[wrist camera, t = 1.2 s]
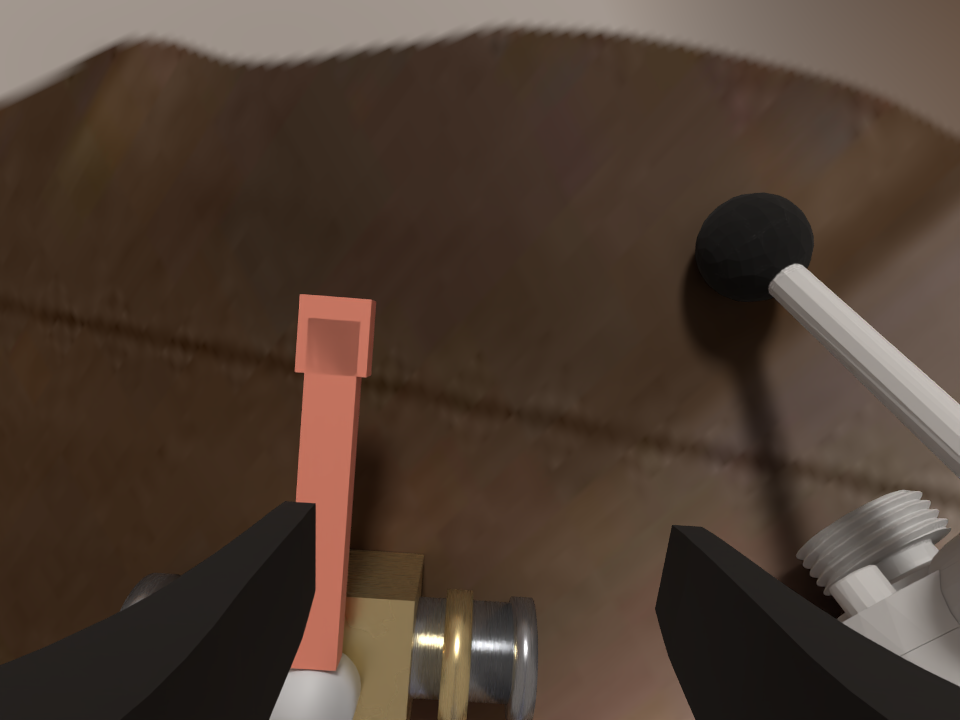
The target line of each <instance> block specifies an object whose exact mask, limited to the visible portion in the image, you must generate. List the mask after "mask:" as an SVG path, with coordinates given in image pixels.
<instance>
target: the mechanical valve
mask: <svg viewBox="0 0 960 720" xmlns="http://www.w3.org/2000/svg"><path fill="white" fill-rule="evenodd" d="M813 247H814V237H813V233H812V229H811V226H810V224H809V222H808V220H807V218H806V216H805V215H804V213H803V212H802V211H801V210H800V209H799V208H798V207H797V206H796V205H794V204H793V203H792V202H790V201H789V200H788V199H786V198H783V197H781V196H779V195H774V194H769V193H754V194H744V195H740V196H737V197H733V198H732V199H730V200H728V201H727V202H725V203H723V204H721V205H720V206H718V207H717V208H716V209H715V210H714V211H713V212H712V213H711V214H710V215H709V216H708V218H707V219H706V220H705V221H704V223H703V225H702V228H701V230H700V232H699V234H698V237H697V241H696V249H695V257H696V262H697V265H698V269H699V271H700V273H701V275H702V277H703V278H704V280H705V281H706V283H707V284H708V285H710V286H711V287H712V288H713V289H714V290H715V291H717V292H718V293H719V294H721V295H723V296H726V297H728V298H731V299H733V300H736V301H743V302H753V301H761V300H767V299H770V298H775V299H776V300H777V301H778V302H779V303H780V304H781V305H782V306H783V307H784V308H785V309H786V310H787V311H788V312H789V313H790V314H791V315H792V316H793V317H794V318H795V319H796V320H797V321H798V322H800V323H801V324H802V325H803V326H804V327H805V328H806V329H807V330H808V331H809V332H810V333H811V334H812V335H813V336H814V337H815V338H816V339H817V340H818V341H819V342H820V343H821V344H822V345H823V346H824V347H825V348H826V349H827V350H828V351H829V352H830V353H831V354H832V355H833V356H834V357H835V358H836V359H837V360H838V361H840V362H841V363H842V364H843V365H844V366H845V367H846V368H847V369H848V370H849V371H850V372H851V373H852V374H853V375H854V376H855V377H856V378H857V379H858V380H859V381H860V382H861V383H862V384H863V385H864V386H865V387H866V388H867V389H868V390H869V391H870V392H871V393H872V394H873V395H874V396H875V397H876V398H877V399H878V400H880V401H881V402H882V403H883V404H884V405H885V406H886V407H887V408H888V409H889V410H890V411H891V412H892V413H893V414H894V415H895V416H896V417H897V418H898V419H899V420H900V421H901V422H902V423H903V424H904V425H905V426H906V427H907V428H908V429H909V430H910V431H911V432H912V433H913V434H914V435H915V436H916V437H917V438H918V439H920V440H921V441H922V442H923V443H924V444H925V445H926V446H927V447H928V448H929V449H930V450H931V451H932V452H933V453H934V454H935V455H936V456H937V457H938V458H939V459H940V460H941V461H942V462H943V463H944V464H945V465H946V466H947V467H948V468H949V469H950V470H951V471H952V472H953V473H954V474H955V475H956V476H957V477H958V478H960V404H958V403H957V402H956V401H955V400H954V399H953V398H952V397H951V396H949V395H948V394H947V393H946V392H945V391H944V390H943V389H941V388H940V387H939V386H938V385H937V384H936V383H935V382H934V381H932V380H931V379H930V378H929V377H928V376H927V375H926V374H925V373H923V372H922V371H921V370H920V369H919V368H918V367H917V366H916V365H914V364H913V363H912V362H911V361H910V360H909V359H908V358H907V357H905V356H904V355H903V354H902V353H901V352H900V351H899V350H897V349H896V348H895V347H894V346H893V345H892V344H891V343H890V342H888V341H887V340H886V339H885V338H884V337H883V336H882V335H881V334H879V333H878V332H877V331H876V330H875V329H874V328H873V327H872V326H870V325H869V324H868V323H867V322H866V321H865V320H864V319H863V318H861V317H860V316H859V315H858V314H857V313H856V312H855V311H853V310H852V309H851V308H850V307H849V306H848V305H847V304H846V303H844V302H843V301H842V300H841V299H840V298H839V297H838V296H837V295H835V294H834V293H833V292H832V291H831V290H830V289H829V288H828V287H826V286H825V285H824V284H823V283H822V282H821V281H820V280H818V279H817V278H816V277H815V276H814V275H813V274H812V273H811V272H809V271H808V270H807V268H808V266H809V263H810V260H811V256H812V252H813ZM921 497H922V492H920V491H909V490H900V491H896V492H893V493H890V494H887V495H884V496H882V497H880V498H878V499H876V500H874V501H871V502H869V503H867V504H865V505H863V506H861V507H859V508H858V509H856V510H854V511H852V512H850V513H848V514H847V515H845V516H843V517H841V518H840V519H838V520H837V521H835V522H834V523H832V524H831V525H829V526H828V527H826V528H825V529H823V530H821V531H820V532H819V533H817V534H816V535H815V536H814V537H812V538H811V539H810V540H809V541H807V542H806V543H805V544H804V545H803V547H802V548H801V549H800V550H799V551H798V552H797V555H796V557H797V558H798V559H800V560H804V562H803V566H804V568H807V569H811V570H810V576H811V577H815V578H818V580H817V585H818V586H822V587H825V589H824V592H823V593H824V594H825V595H827V596H833V597H834V598H835V599H836V601H837V602H838V603H839V605H840V606H841V607H842V609H843V610H844V611H845V613H844V614H842V615H841V616H840V617H838V618H837V620H839V621H840V622H842V623H843V624H845V625H846V626H848V627H850V628H851V629H853V630H855V631H856V632H858V633H860V634H861V635H863V636H865V637H867V638H868V639H870V640H872V641H874V642H876V643H877V644H879V645H881V646H883V647H884V648H886V649H888V650H890V651H892V652H893V653H895V654H897V655H899V656H900V657H902V658H904V659H906V660H908V661H910V662H912V663H914V664H916V665H917V666H919V667H921V668H923V669H925V670H927V671H929V672H931V673H933V674H935V675H937V676H939V677H941V678H943V679H946V680H948V681H950V682H952V683H954V684H956V685H958V686H960V534H958V535H957V536H956V537H954V538H953V539H952V540H951V541H949V542H948V543H947V544H946V545H945V546H944V547H943V548H941V549H940V550H938V549H937V548H936V547H935V546H934V545H935V544H936V543H937V542H939V541H940V540H941V539H942V538H944V537H945V536H946V535H947V534H948V533H949V532H950V530H951V528H945V527H946V525H947V523H948V519H945V518H937V516H938V514H939V510H937V509H929V507H930V504H931V502H930V501H929V500H920V498H921Z"/></svg>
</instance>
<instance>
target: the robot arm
mask: <svg viewBox="0 0 960 720" xmlns="http://www.w3.org/2000/svg"><path fill="white" fill-rule="evenodd" d="M315 591H316V503H304V502H287V501H285V502H283V503H282V504H281V505H279V506H278V507H276V508H275V509H274V510H272V511H271V512H270V513H268V514H267V515H266V516H265V517H263V518H262V519H261V520H259V521H258V522H257V523H255V524H254V525H253V526H252V527H250V528H249V529H248V530H246V531H245V532H244V533H242V534H241V535H239V536H238V537H237V538H235V539H234V540H233V541H231V542H230V543H229V544H227V545H226V546H225V547H223V548H222V549H220V550H219V551H218V552H216V553H215V554H213V555H212V556H210V557H209V558H207V559H206V560H204V561H203V562H201V563H200V564H198V565H197V566H195V567H194V568H192V569H191V570H189V571H188V572H186V573H185V574H183V575H182V576H180V577H179V578H177V579H176V580H174V581H173V582H171V583H169V584H168V585H166V586H165V587H163V588H161V589H160V590H158V591H156V592H154V593H153V594H151V595H149V596H148V597H146V598H144V599H142V600H140V601H139V602H137V603H135V604H133V605H131V606H129V607H128V608H126V609H124V610H122V611H120V612H118V613H116V614H115V615H113V616H111V617H109V618H107V619H105V620H103V621H100V622H98V623H96V624H94V625H92V626H90V627H88V628H85V629H83V630H81V631H79V632H77V633H75V634H73V635H70V636H68V637H66V638H64V639H62V640H60V641H58V642H56V643H53V644H51V645H49V646H47V647H44V648H42V649H40V650H37V651H35V652H32V653H30V654H27V655H25V656H23V657H20V658H18V659H15V660H13V661H10V662H8V663H5V664H3V665H0V720H269V719H270V716H271V714H272V712H273V709H274V707H275V704H276V702H277V700H278V697H279V695H280V692H281V690H282V687H283V685H284V683H285V680H286V678H287V675H288V673H289V670H290V668H291V666H292V663H293V661H294V658H295V656H296V653H297V651H298V648H299V646H300V643H301V641H302V638H303V635H304V631H305V628H306V624H307V621H308V617H309V614H310V610H311V606H312V602H313V599H314V595H315ZM655 610H656V614H657V618H658V621H659V625H660V629H661V633H662V636H663V640H664V643H665V646H666V650H667V653H668V656H669V659H670V661H671V664H672V666H673V669H674V671H675V673H676V676H677V678H678V680H679V683H680V685H681V687H682V690H683V692H684V694H685V697H686V699H687V701H688V704H689V706H690V708H691V710H692V713H693V715H694V717H695V720H960V686H958V685H956V684H954V683H952V682H950V681H948V680H946V679H943V678H941V677H939V676H937V675H935V674H933V673H931V672H929V671H927V670H925V669H923V668H921V667H919V666H917V665H916V664H914V663H912V662H910V661H908V660H906V659H904V658H902V657H900V656H899V655H897V654H895V653H893V652H892V651H890V650H888V649H886V648H884V647H883V646H881V645H879V644H877V643H876V642H874V641H872V640H870V639H868V638H867V637H865V636H863V635H861V634H860V633H858V632H856V631H855V630H853V629H851V628H850V627H848V626H846V625H845V624H843V623H842V622H840V621H839V620H837V619H835V618H834V617H832V616H831V615H829V614H828V613H826V612H825V611H823V610H821V609H820V608H818V607H817V606H815V605H814V604H812V603H811V602H809V601H808V600H806V599H805V598H803V597H802V596H800V595H799V594H797V593H796V592H794V591H793V590H792V589H790V588H789V587H787V586H786V585H784V584H783V583H782V582H780V581H779V580H777V579H776V578H774V577H773V576H772V575H770V574H769V573H767V572H766V571H765V570H763V569H762V568H761V567H759V566H758V565H756V564H755V563H754V562H752V561H751V560H749V559H748V558H747V557H745V556H744V555H743V554H741V553H740V552H738V551H737V550H736V549H734V548H733V547H731V546H730V545H729V544H727V543H726V542H724V541H723V540H722V539H720V538H719V537H717V536H716V535H714V534H713V533H711V532H709V531H708V530H706V529H704V528H703V527H695V526H679V525H672V528H671V533H670V538H669V543H668V548H667V553H666V558H665V563H664V568H663V573H662V578H661V583H660V588H659V592H658V597H657V602H656V607H655Z"/></svg>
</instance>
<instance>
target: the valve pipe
mask: <svg viewBox="0 0 960 720" xmlns="http://www.w3.org/2000/svg"><path fill="white" fill-rule="evenodd" d="M423 564H424V554H412V553H397V552H382V551H367V550H352V549H349V563H348V577H347V591H346V605H345V620H344V634H343V648H342V653H344V654H345V655H346V656H348V657H349V658H350V659H351V661H352V662H353V663H354V665H355V666H356V668H357V670H358V673H359V676H360V681H361V691H360V696H359V700H358V703H357V706H356V710H355V713H354V716H353V720H410V716H411V709H412V702H413V698H415V699H432V700H439V707H438V720H466V718H467V707H468V702H480V703H497V704H504V707H505V717H506V720H532V719H533V714H534V709H535V701H536V690H537V671H538V635H537V619H536V610H535V604H534V601H533V599H532V598H528V597H513V596H512V597H511V598H510V600H509V603H507V602H492V601H477V600H473V591H471V590H456V589H448V590H447V599H446V598H431V597H421V591H422V577H423ZM179 577H180V575H177V574H164V573H152V574H149V575H147V576H146V577H144V578H143V579H142V580H141V581H140V582H139V583H138V584H137V585H136V586H135V587H134V589H133V590H132V591H131V593H130V594H129V596H128V597H127V599H126V601H125V603H124V604H123V606H122V608H121V611H122V610H124V609H126V608H128V607H129V606H131V605H133V604H135V603H137V602H139V601H140V600H142V599H144V598H146V597H148V596H149V595H151V594H153V593H154V592H156V591H158V590H160V589H161V588H163V587H165V586H166V585H168V584H169V583H171V582H173V581H174V580H176V579H177V578H179Z"/></svg>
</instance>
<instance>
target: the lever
mask: <svg viewBox="0 0 960 720" xmlns="http://www.w3.org/2000/svg"><path fill="white" fill-rule="evenodd" d="M375 311H376V301H373V300H368V299H356V298H343V297H330V296H317V295H304V294H300V302H299V317H298V332H297V347H296V362H295V372H303V373H305V374H304V389H303V404H302V419H301V434H300V449H299V463H298V478H297V493H296V502H304V503H316V591H315V595H314V599H313V602H312V606H311V610H310V614H309V617H308V621H307V624H306V628H305V631H304V635H303V638H302V641H301V643H300V646H299V648H298V651H297V653H296V656H295V658H294V661H293V663H292V666H291V668H290V670H289V673H288V675H287V678H286V680H285V683H284V685H283V687H282V690H281V692H280V695H279V697H278V700H277V702H276V704H275V707H274V709H273V712H272V714H271V716H270V719H269V720H353V716H354V713H355V710H356V706H357V703H358V700H359V696H360V691H361V681H360V676H359V673H358V670H357V668H356V666H355V665H354V663H353V662H352V661H351V659H350V658H349V657H348V656H346V655H345V654H344V653H342V648H343V634H344V620H345V605H346V591H347V577H348V563H349V548H350V534H351V520H352V506H353V491H354V477H355V463H356V449H357V434H358V420H359V406H360V392H361V377H368V376H371V367H372V353H373V339H374V325H375Z"/></svg>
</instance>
